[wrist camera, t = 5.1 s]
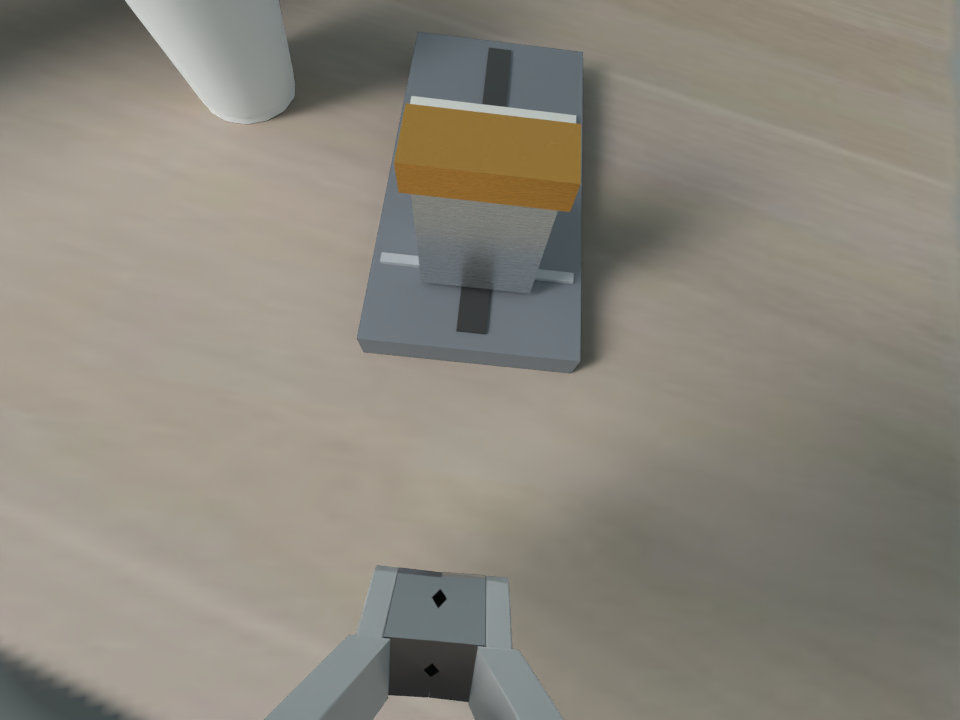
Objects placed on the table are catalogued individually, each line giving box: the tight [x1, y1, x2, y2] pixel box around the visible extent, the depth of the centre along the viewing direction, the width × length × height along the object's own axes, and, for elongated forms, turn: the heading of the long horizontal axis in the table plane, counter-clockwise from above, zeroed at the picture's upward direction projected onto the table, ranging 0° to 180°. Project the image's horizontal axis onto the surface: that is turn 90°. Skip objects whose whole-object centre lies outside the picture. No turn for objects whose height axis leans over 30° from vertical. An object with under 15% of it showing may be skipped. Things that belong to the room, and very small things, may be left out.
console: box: [357, 32, 583, 373], centre depth 29 cm, size 24×12×2 cm, turn 175°
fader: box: [394, 103, 581, 294], centre depth 21 cm, size 3×7×9 cm, turn 85°
